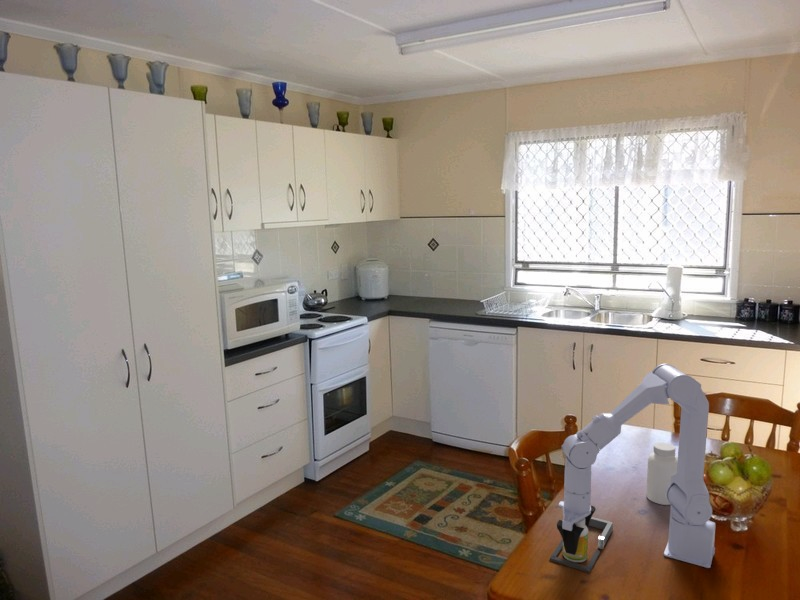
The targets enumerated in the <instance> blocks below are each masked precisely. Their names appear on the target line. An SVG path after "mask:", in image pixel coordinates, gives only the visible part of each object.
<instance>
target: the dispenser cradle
mask: <svg viewBox="0 0 800 600" xmlns="http://www.w3.org/2000/svg"><path fill="white" fill-rule="evenodd" d="M588 527H593V528H597V529H599V530H603V531H602V533H601V535H599V536H598V538H597V549H600V550H604V548H605V545H606V543H607V541H608V540H609V538H610V535H611V533H612V531H613V527H614V523H613V522H612V521H609V520H606V519H602V518H597V517H594V516H592V517H591V520H590V523H589V526H588Z"/></svg>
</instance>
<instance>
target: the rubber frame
mask: <svg viewBox="0 0 800 600" xmlns="http://www.w3.org/2000/svg"><path fill="white" fill-rule="evenodd" d="M561 551H563V539H560V542H558V544H557V546H556V547H555V549H554V551H553V552H552V554H551V555H550V556H549V561H551V562H554V563H557V564H560V565H564V566H566V567H570V568H573V569H577V570H580V571H582V572H587V573H589V574H590V573H591V571H592V569H593V568H594V565H596V562H597V560H598V558H599V556H600V554H601V550H599V549H595V551H593V554H592V556H591V558H590V559H589V561H588V563H587V565H583V564H580V563H577V562H571V561H569V560H567V559H565V558H564V559H563V558H560V557H558V556H559V555H560V553H561Z"/></svg>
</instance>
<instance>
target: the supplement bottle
mask: <svg viewBox="0 0 800 600" xmlns="http://www.w3.org/2000/svg"><path fill="white" fill-rule="evenodd" d="M575 525H576V526H578V527H581V528H584V530H583V531H582V533H581V535H580V538H579V541H578V547H577V551H576V554H575V555H573V554H569V553H566V551H565V547H564V543H563V548H562V555H563V557H564V559H565V560H567V561H570V562H574V563H577V564H580V563H583V562H585V561H587V559H588V551H589V550H588V548H589V547H588V544H589V527H588V528H587V526H586V525H585V518H583V519H581V520H579V521H577V522H575Z"/></svg>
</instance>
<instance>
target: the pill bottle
mask: <svg viewBox="0 0 800 600" xmlns="http://www.w3.org/2000/svg"><path fill="white" fill-rule="evenodd" d="M677 462H678V455H676V447H675V445H673V444H671V443H669V442H656V443H654V444H653V452H651V453H650V454H649V455H648V457H647V471H646V473H647V474H646V486H645V487H646V488H645V489H646V491H645V493H646V494H645V495H646V498H648V500H649V501H651V502H652V503H655V504H658V505H663V506H671V503H670V502H669V501H668V500H667V498H666V490H667V488H668V486H669V485H670V482H671V476H672V475H674V474H676V473H677Z"/></svg>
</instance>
